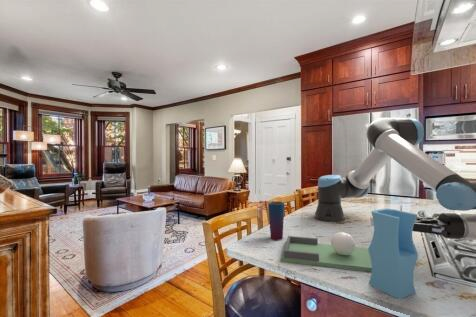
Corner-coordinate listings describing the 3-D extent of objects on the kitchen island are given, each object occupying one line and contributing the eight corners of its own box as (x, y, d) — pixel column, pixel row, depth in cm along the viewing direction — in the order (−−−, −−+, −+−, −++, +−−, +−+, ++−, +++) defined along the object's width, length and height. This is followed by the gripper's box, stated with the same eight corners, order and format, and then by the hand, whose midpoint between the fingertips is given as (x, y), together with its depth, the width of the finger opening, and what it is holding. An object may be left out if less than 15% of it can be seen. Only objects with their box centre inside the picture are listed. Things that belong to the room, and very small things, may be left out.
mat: (382, 252, 84) (382, 249, 84) (398, 275, 69) (398, 271, 69) (285, 243, 94) (285, 240, 94) (281, 261, 79) (281, 257, 79)
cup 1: (274, 234, 105) (274, 200, 105) (287, 237, 101) (287, 202, 100) (265, 238, 101) (264, 203, 100) (278, 242, 96) (278, 205, 95)
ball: (343, 248, 86) (343, 228, 85) (360, 257, 78) (360, 234, 78) (326, 251, 83) (326, 230, 83) (342, 260, 76) (342, 237, 76)
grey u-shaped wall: (317, 244, 90) (317, 238, 90) (319, 261, 76) (318, 254, 76) (288, 241, 93) (288, 235, 93) (284, 257, 79) (284, 250, 79)
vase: (397, 299, 58) (397, 218, 57) (368, 283, 65) (368, 211, 64) (417, 291, 61) (417, 214, 60) (387, 277, 68) (387, 208, 67)
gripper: (473, 246, 65) (376, 239, 72) (446, 231, 77) (366, 226, 84) (473, 219, 65) (376, 214, 72) (446, 209, 77) (366, 205, 84)
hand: (370, 221), depth 78 cm, fingers closed
